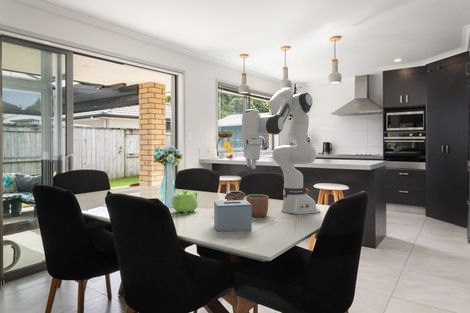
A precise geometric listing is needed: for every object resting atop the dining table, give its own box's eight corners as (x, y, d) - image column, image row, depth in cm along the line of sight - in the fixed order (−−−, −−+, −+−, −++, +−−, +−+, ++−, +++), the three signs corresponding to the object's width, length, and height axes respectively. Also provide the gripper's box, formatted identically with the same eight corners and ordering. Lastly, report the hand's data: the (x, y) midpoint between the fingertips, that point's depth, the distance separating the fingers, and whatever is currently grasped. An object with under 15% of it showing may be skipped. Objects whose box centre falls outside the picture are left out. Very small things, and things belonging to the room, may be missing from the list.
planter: (264, 212, 185) (264, 194, 184) (271, 217, 173) (271, 197, 172) (243, 213, 182) (243, 194, 182) (249, 218, 170) (249, 198, 170)
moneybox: (246, 223, 160) (245, 199, 160) (251, 230, 148) (251, 204, 148) (214, 225, 157) (214, 201, 157) (217, 231, 145) (217, 205, 145)
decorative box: (216, 208, 197) (216, 193, 197) (230, 203, 215) (230, 188, 215) (236, 210, 191) (236, 194, 191) (248, 204, 210) (248, 190, 209)
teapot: (189, 207, 200) (189, 187, 200) (205, 210, 192) (205, 189, 192) (164, 213, 184) (164, 191, 184) (181, 216, 176) (180, 193, 176)
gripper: (240, 140, 173) (241, 165, 174) (249, 141, 153) (250, 169, 154) (251, 140, 174) (252, 165, 175) (262, 141, 154) (262, 169, 155)
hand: (251, 167), depth 164 cm, fingers open, 8 cm apart
